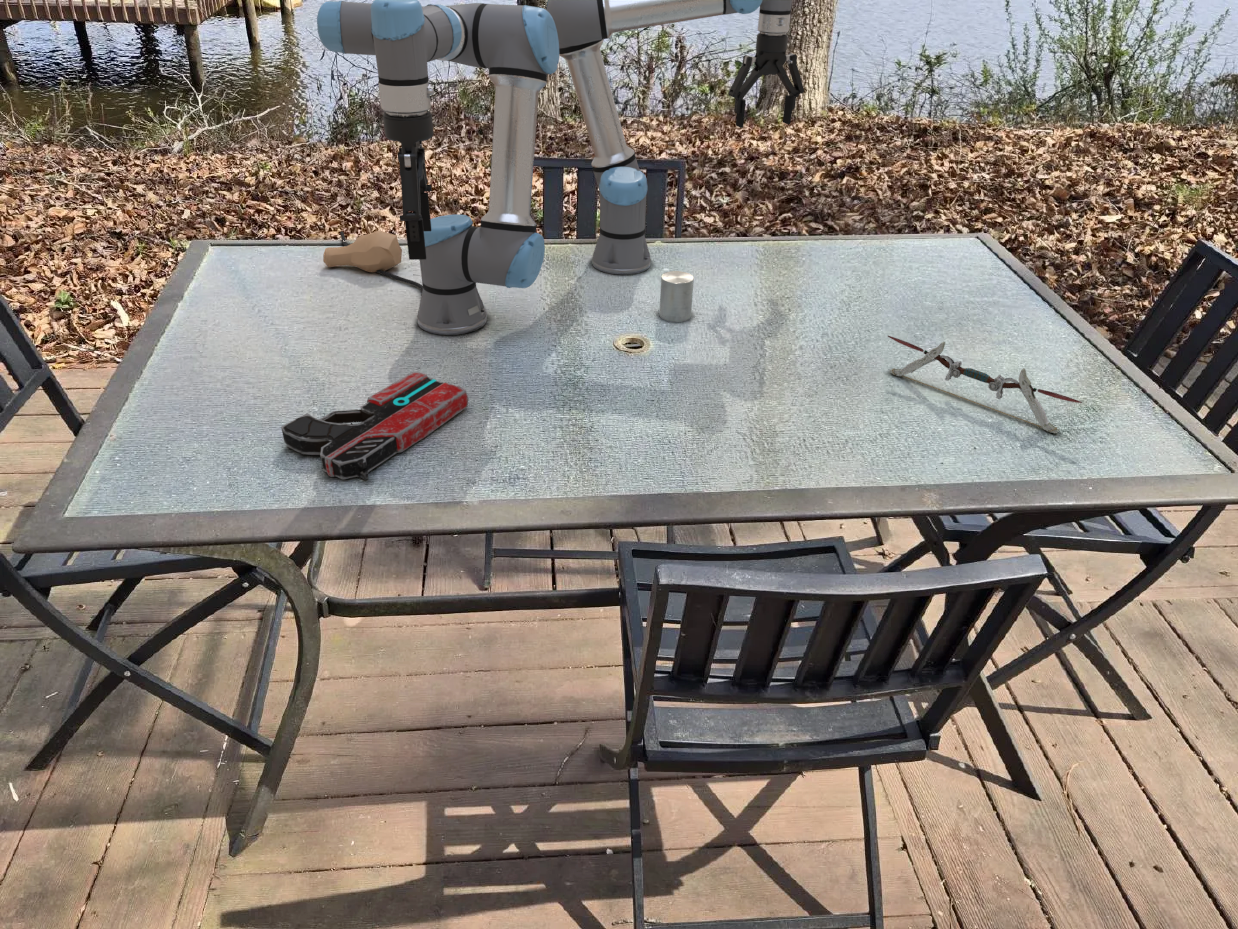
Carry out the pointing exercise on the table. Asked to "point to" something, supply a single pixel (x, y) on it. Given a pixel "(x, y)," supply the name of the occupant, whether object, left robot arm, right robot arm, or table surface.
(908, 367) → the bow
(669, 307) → the tin
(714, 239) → the table surface
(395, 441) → the gun
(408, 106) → the left robot arm
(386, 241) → the squash
